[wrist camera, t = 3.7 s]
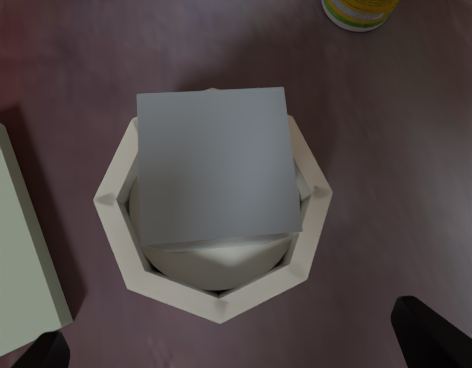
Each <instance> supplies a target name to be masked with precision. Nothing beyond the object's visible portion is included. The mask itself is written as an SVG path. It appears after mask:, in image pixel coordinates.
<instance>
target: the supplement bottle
mask: <svg viewBox="0 0 472 368" xmlns="http://www.w3.org/2000/svg"><path fill="white" fill-rule="evenodd" d="M399 1H400V0H321V2H322V6H323V9H324V11H325V13H326V14H327V16H328V17H329V18H330V19H331V20H332V21H333V22H334V23H335V24H336V25H338V26H339V27H341V28H344V29H346V30H350V31H355V32H365V31H370V30H373V29H375V28H377V27H379V26H380V25H382V24H383V23H384V22H385V21H386V19H387V18H388V17H389V16H390V14H391V13H392V11H393V10H394V8H395V7H396V5H397V4H398V3H399Z"/></svg>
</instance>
